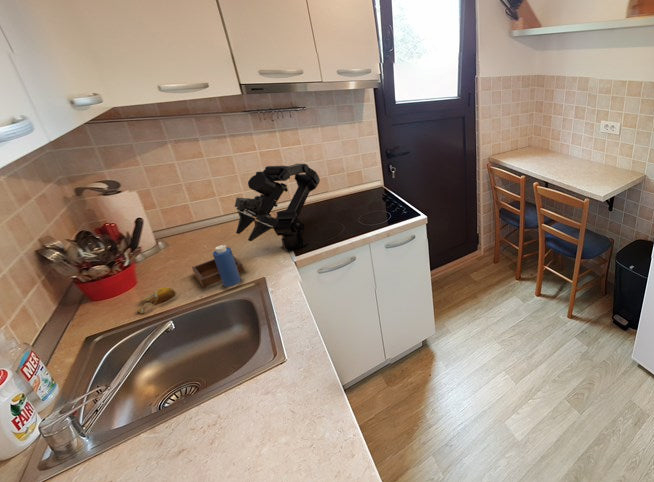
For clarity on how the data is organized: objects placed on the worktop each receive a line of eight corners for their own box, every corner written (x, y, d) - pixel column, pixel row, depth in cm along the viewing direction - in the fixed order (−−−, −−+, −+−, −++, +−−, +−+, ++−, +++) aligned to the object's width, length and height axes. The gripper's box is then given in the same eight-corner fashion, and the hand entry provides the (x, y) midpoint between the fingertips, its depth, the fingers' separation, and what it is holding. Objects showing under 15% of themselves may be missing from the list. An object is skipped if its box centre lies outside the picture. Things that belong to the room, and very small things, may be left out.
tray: (233, 261, 124) (230, 252, 122) (244, 272, 117) (241, 263, 116) (195, 276, 115) (191, 267, 114) (204, 289, 108) (201, 280, 107)
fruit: (142, 300, 104) (137, 290, 102) (176, 289, 109) (173, 280, 107) (139, 315, 98) (134, 305, 96) (175, 302, 103) (171, 293, 101)
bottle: (238, 278, 114) (226, 241, 109) (243, 283, 111) (231, 246, 106) (222, 285, 111) (209, 247, 105) (226, 290, 108) (213, 252, 103)
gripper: (235, 182, 118) (208, 222, 113) (261, 193, 108) (232, 237, 103) (264, 195, 127) (239, 232, 122) (290, 206, 117) (264, 247, 112)
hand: (243, 237), depth 115 cm, fingers open, 9 cm apart
